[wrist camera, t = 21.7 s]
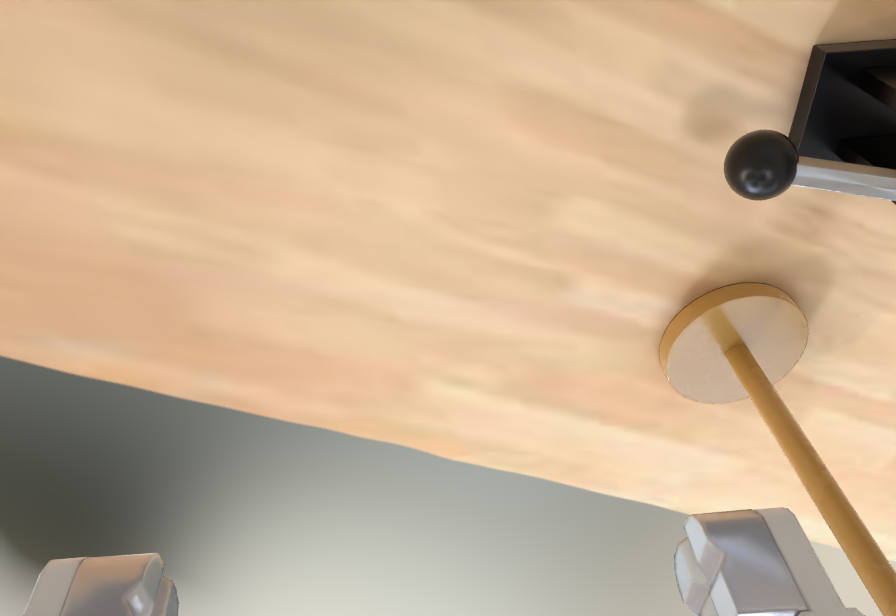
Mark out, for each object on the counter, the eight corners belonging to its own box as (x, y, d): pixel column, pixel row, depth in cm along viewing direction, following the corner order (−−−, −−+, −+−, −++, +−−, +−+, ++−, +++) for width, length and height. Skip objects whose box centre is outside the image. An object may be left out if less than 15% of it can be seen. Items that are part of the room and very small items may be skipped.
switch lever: (723, 175, 37) (713, 205, 35) (736, 114, 35) (726, 141, 33) (1043, 225, 32) (1057, 264, 30) (1081, 157, 30) (1100, 193, 28)
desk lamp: (759, 238, 45) (1243, 816, 20) (841, 331, 51) (1296, 870, 26) (612, 347, 50) (858, 926, 25) (702, 421, 55) (976, 952, 31)
